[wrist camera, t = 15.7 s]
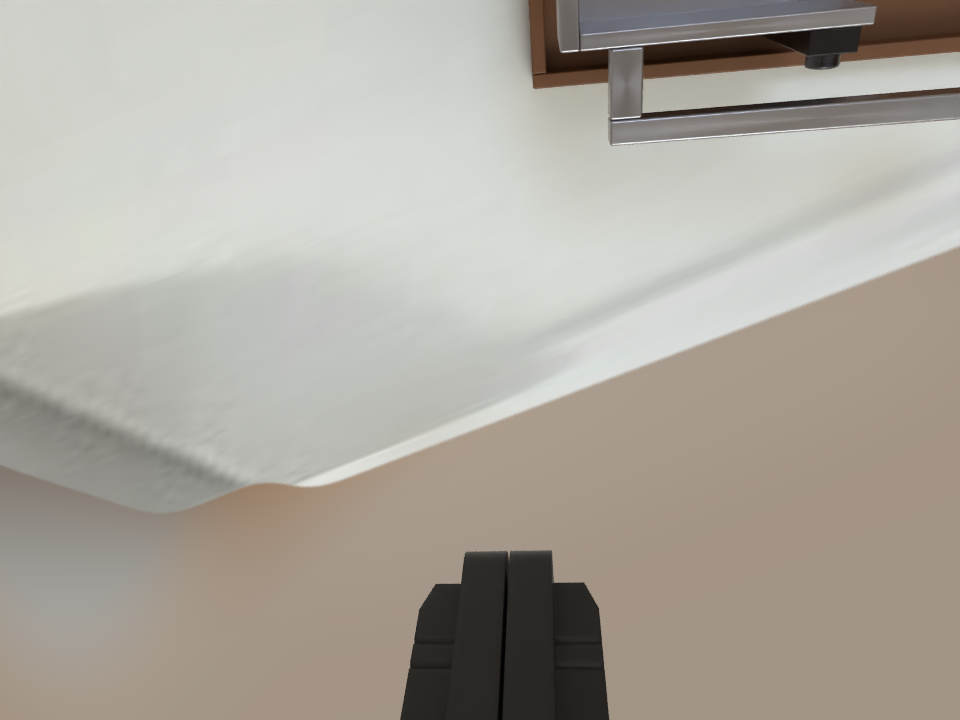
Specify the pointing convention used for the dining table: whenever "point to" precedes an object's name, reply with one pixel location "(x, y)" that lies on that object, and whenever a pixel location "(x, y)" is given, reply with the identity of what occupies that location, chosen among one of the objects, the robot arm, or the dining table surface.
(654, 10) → the fryer basket
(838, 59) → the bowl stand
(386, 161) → the dining table surface
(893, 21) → the tray
